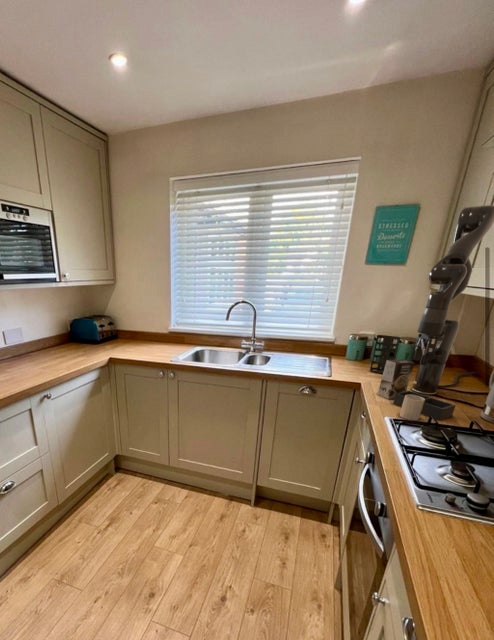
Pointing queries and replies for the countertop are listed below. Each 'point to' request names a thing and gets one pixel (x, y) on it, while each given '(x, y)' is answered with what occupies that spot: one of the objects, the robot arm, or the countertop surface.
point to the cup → (412, 407)
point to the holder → (384, 352)
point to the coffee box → (395, 377)
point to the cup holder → (429, 405)
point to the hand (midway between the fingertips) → (419, 362)
